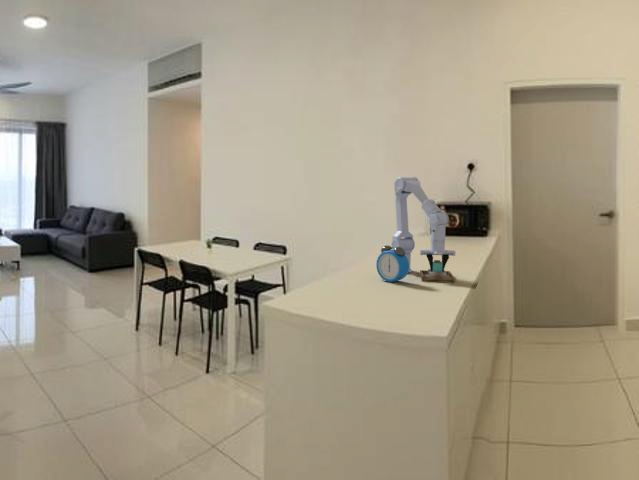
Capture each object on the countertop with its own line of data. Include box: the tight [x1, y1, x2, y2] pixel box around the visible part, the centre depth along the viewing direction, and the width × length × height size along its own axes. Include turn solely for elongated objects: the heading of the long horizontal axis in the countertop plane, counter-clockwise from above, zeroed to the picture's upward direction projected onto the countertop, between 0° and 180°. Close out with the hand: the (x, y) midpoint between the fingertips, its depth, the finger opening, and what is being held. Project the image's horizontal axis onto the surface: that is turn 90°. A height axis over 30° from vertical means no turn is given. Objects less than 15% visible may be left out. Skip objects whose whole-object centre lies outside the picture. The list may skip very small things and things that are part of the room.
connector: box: [433, 259, 443, 272], centre depth 195 cm, size 4×4×7 cm
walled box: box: [419, 268, 455, 283], centre depth 197 cm, size 13×13×4 cm
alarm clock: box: [376, 244, 409, 284], centre depth 191 cm, size 13×6×15 cm, turn 44°
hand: (436, 271), depth 195 cm, fingers closed on connector, 4 cm apart
